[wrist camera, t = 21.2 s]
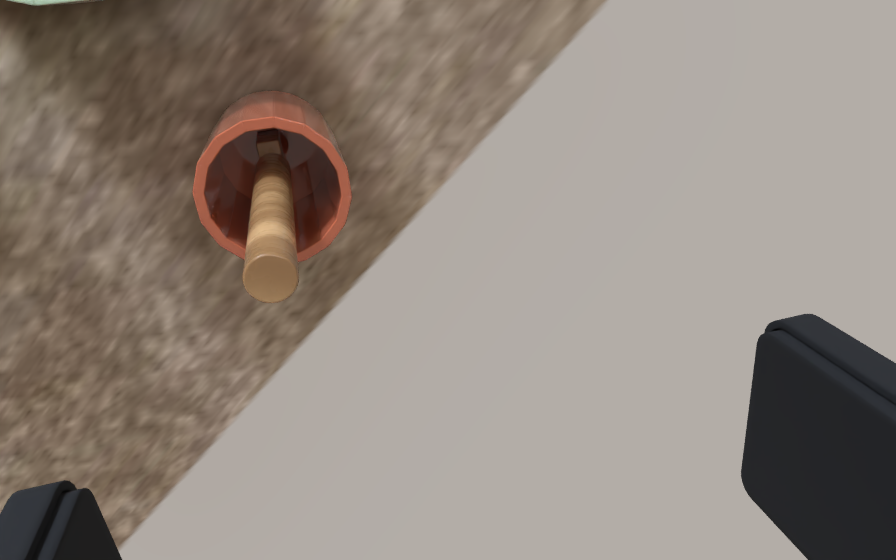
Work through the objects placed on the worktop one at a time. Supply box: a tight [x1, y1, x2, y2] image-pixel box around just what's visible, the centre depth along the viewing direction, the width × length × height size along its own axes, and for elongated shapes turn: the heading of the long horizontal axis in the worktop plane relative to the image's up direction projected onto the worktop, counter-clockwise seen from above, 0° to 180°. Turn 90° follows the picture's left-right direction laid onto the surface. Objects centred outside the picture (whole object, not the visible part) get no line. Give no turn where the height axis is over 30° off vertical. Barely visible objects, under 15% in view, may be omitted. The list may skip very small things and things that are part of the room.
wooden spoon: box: [243, 130, 299, 303], centre depth 29 cm, size 3×2×18 cm, turn 6°
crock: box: [193, 91, 352, 262], centre depth 34 cm, size 7×7×9 cm
